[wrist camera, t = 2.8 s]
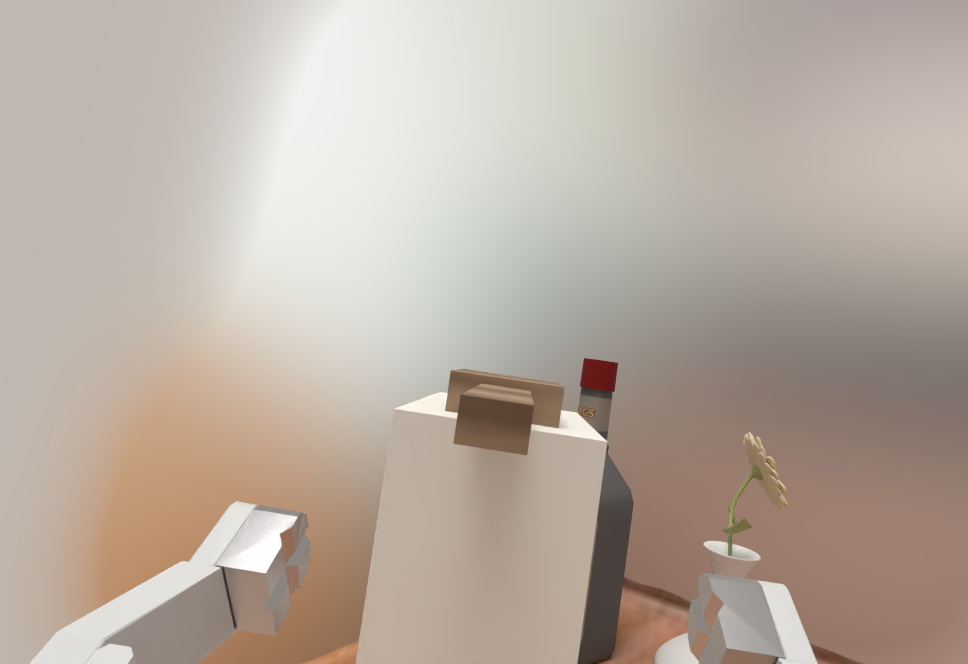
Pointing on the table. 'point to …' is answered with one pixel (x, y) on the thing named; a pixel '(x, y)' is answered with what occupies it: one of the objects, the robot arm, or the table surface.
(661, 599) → the table surface
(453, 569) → the stand
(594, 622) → the liquor
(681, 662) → the flower in vase
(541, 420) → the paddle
